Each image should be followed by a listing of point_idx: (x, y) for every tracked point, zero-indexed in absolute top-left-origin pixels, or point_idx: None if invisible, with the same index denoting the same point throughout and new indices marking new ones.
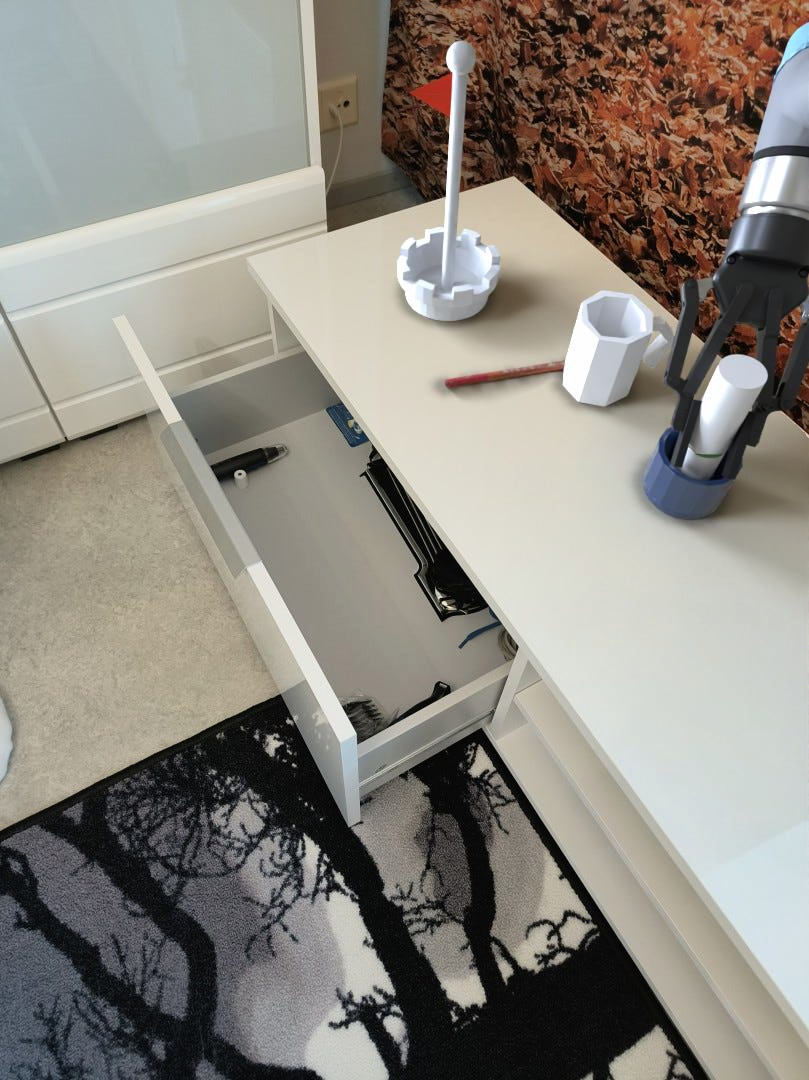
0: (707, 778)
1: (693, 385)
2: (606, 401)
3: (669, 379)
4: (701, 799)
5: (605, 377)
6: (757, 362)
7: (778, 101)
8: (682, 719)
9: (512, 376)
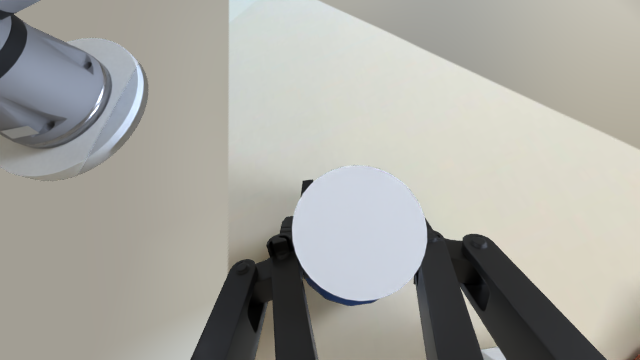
0: (282, 21)
1: (431, 246)
2: (486, 353)
3: (485, 240)
4: (283, 11)
5: None
6: (325, 283)
7: None
8: (302, 44)
9: (637, 357)
